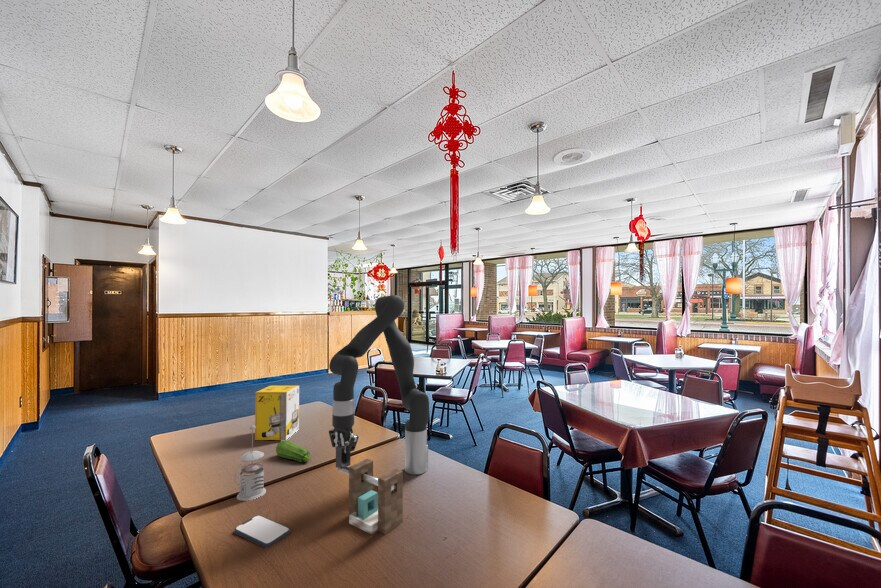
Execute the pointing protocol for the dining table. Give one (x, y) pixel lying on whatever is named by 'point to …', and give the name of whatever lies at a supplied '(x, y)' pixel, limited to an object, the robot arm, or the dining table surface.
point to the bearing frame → (387, 500)
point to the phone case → (262, 531)
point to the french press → (247, 489)
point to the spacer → (367, 504)
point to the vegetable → (292, 451)
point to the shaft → (345, 469)
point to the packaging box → (276, 412)
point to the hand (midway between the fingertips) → (343, 461)
